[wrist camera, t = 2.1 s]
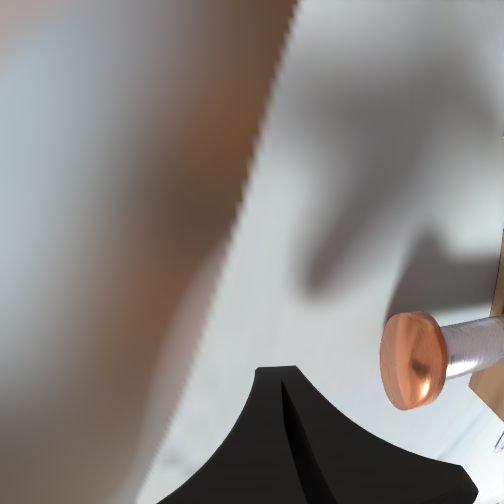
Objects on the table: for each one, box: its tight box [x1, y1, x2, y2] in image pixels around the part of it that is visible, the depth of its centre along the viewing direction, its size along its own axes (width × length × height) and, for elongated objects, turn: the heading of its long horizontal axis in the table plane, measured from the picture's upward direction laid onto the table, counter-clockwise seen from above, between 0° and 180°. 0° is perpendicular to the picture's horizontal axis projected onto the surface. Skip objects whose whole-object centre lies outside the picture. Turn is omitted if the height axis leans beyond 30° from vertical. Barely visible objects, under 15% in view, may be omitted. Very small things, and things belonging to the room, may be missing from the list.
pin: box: [380, 311, 504, 410], centre depth 11 cm, size 12×4×4 cm, turn 91°
